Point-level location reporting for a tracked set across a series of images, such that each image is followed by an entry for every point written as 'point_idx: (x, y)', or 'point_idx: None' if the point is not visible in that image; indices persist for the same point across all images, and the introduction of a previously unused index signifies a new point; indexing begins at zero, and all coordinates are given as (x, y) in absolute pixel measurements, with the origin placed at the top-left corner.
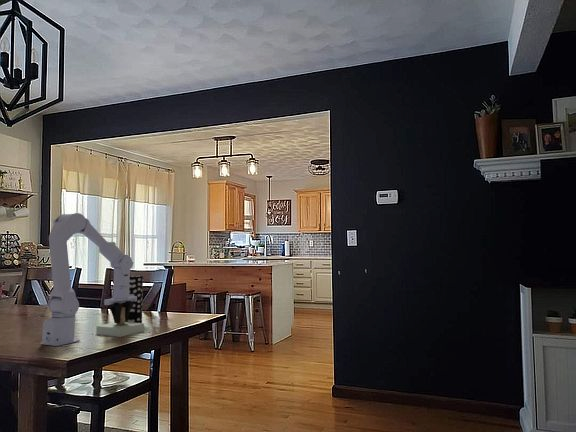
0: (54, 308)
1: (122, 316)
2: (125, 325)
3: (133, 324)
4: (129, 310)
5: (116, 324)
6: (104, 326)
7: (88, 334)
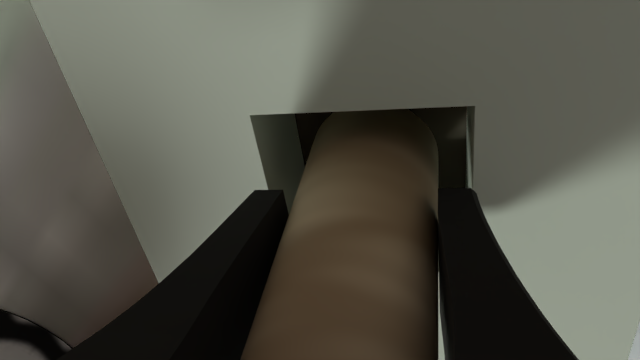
0: None
1: (375, 259)
2: (379, 73)
3: (210, 32)
4: (125, 336)
5: None
6: (623, 285)
7: (634, 342)
